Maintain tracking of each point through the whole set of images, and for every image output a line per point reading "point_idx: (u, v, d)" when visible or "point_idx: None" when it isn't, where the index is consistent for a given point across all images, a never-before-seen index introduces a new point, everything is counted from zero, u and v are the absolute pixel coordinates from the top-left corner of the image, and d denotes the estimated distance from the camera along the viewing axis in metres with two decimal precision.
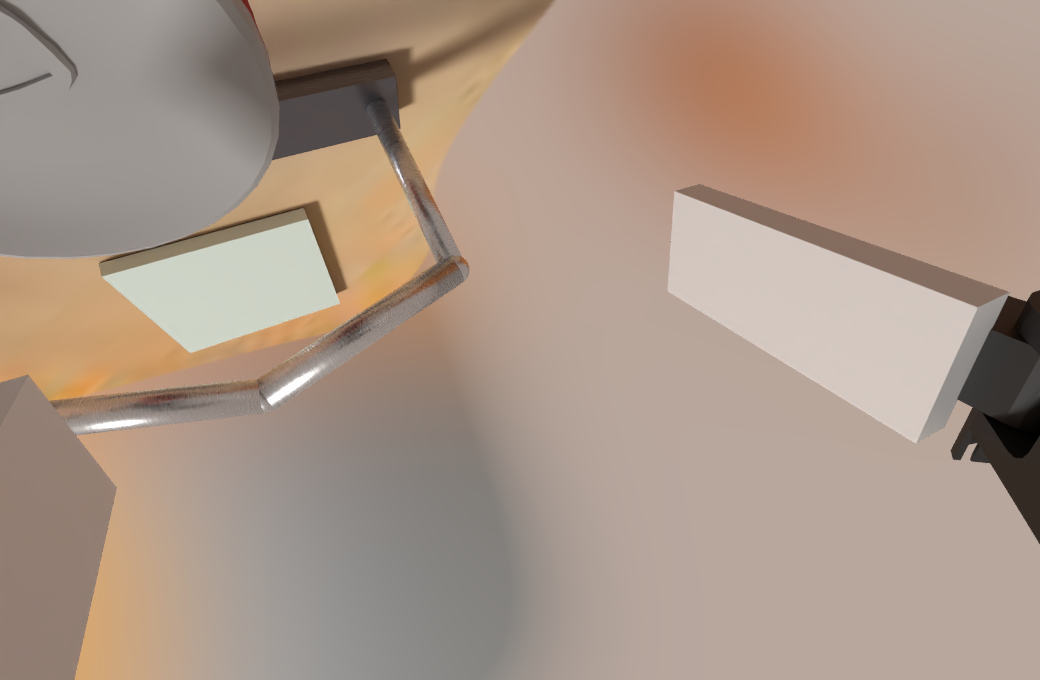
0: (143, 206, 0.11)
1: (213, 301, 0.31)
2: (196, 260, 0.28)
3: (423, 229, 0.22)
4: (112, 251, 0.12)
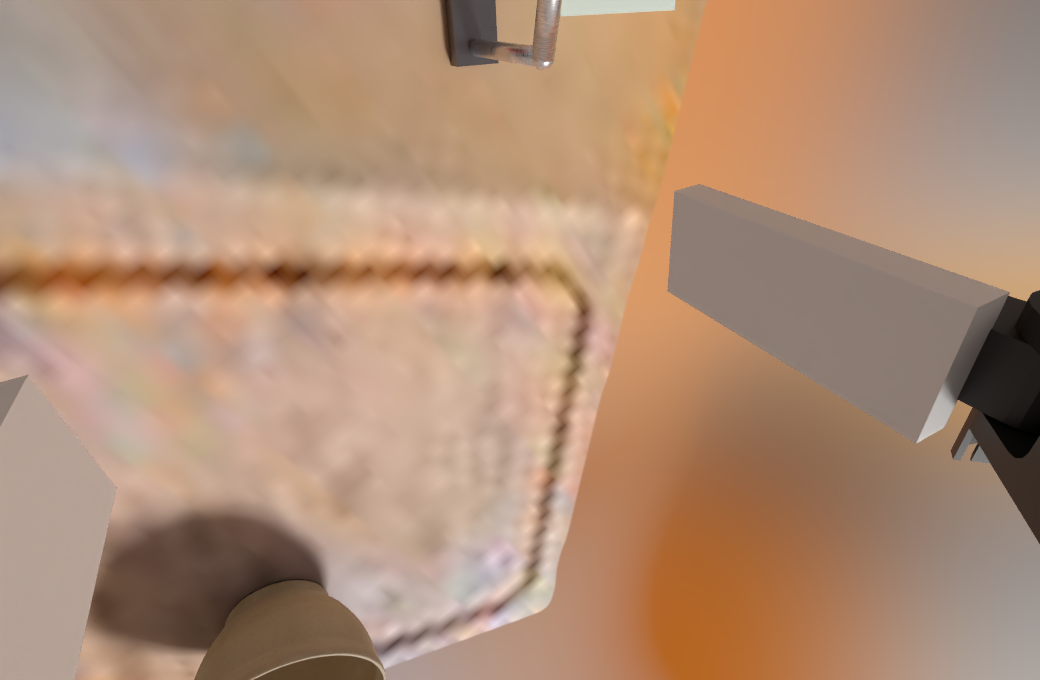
0: None
1: None
2: None
3: None
4: None
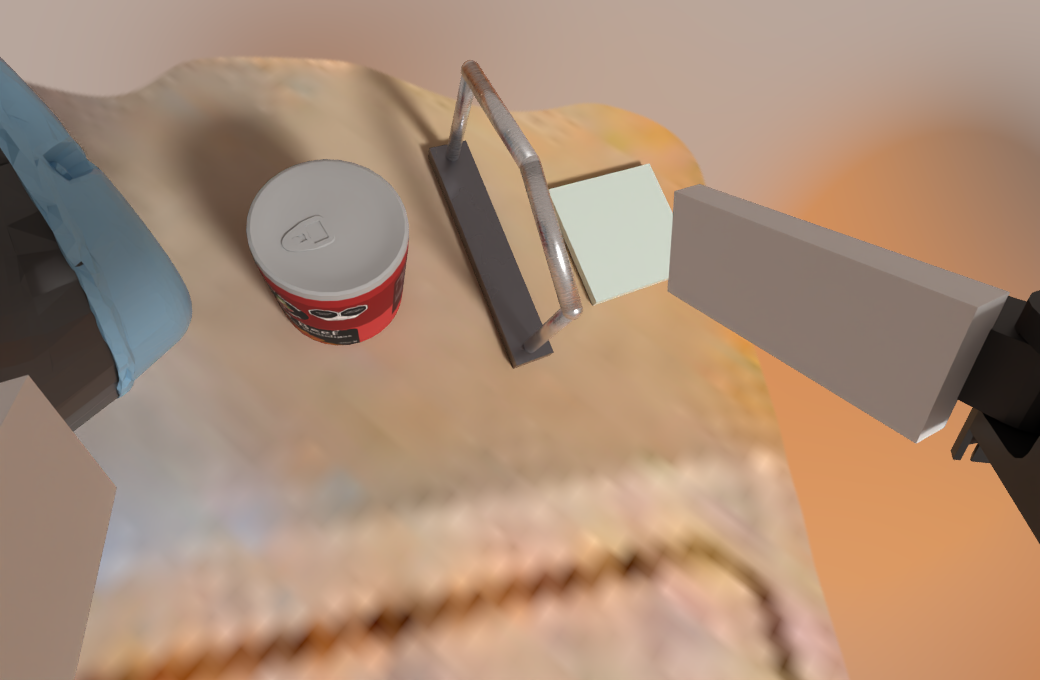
0: (382, 208, 0.28)
1: (632, 247, 0.43)
2: (585, 253, 0.42)
3: (466, 101, 0.34)
4: (404, 220, 0.28)
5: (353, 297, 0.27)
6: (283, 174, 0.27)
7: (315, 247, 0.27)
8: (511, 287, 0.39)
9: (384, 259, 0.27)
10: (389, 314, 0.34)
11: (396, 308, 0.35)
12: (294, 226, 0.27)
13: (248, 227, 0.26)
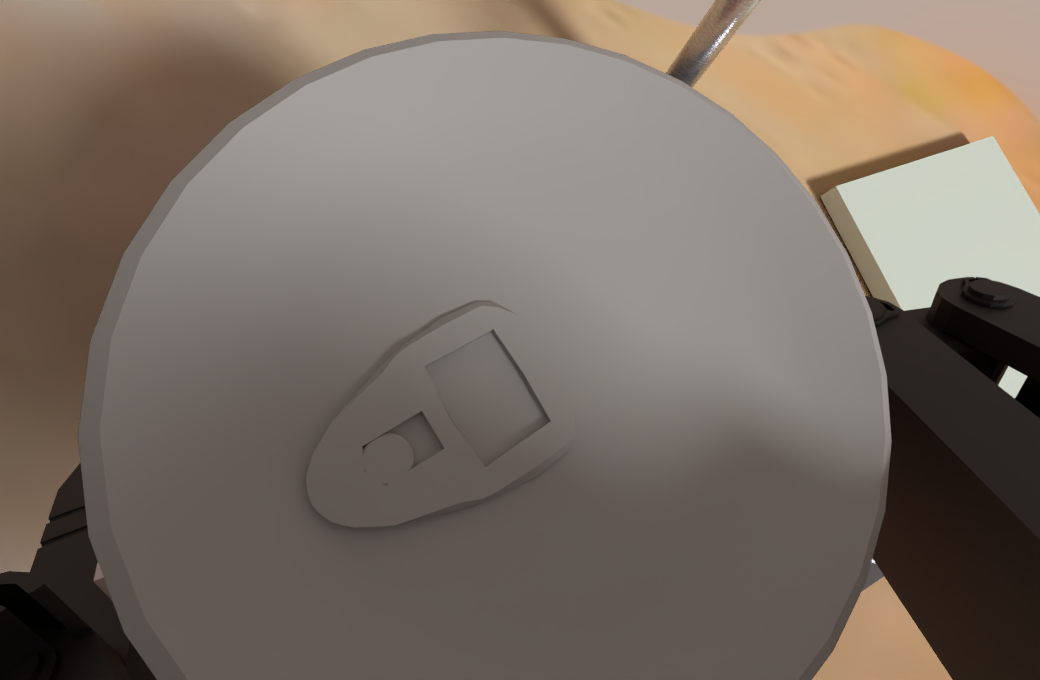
0: (753, 258, 0.06)
1: None
2: None
3: None
4: (862, 312, 0.06)
5: None
6: (310, 91, 0.05)
7: (488, 486, 0.05)
8: None
9: (819, 521, 0.05)
10: None
11: None
12: (374, 372, 0.05)
13: (95, 409, 0.04)
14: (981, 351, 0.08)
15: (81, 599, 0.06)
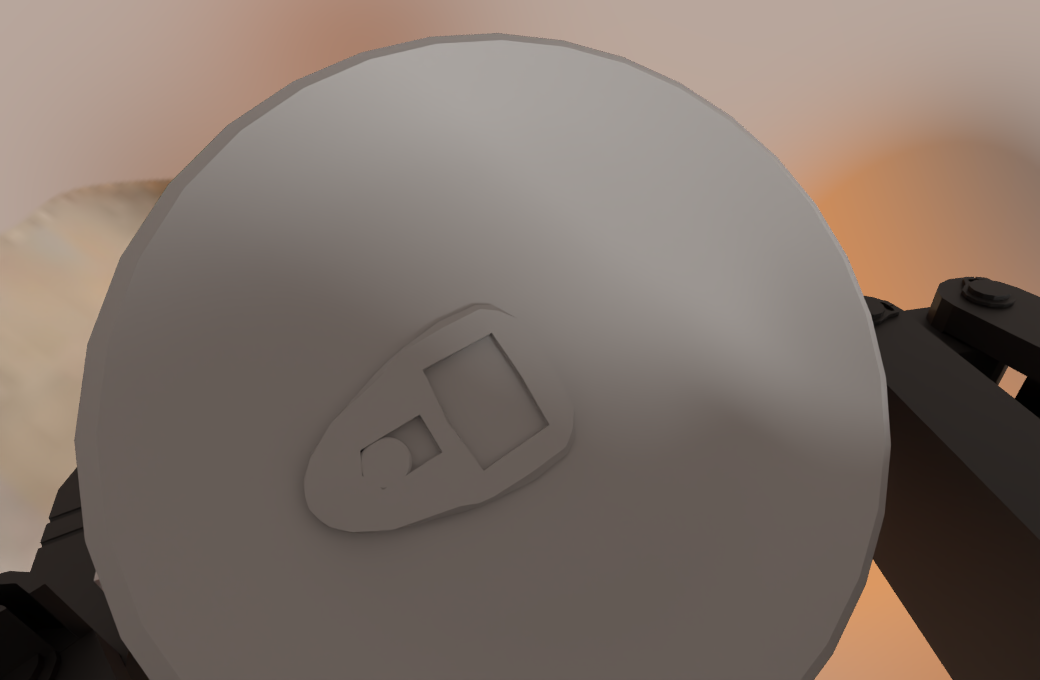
0: (751, 261, 0.06)
1: None
2: None
3: None
4: (861, 315, 0.06)
5: None
6: (309, 94, 0.05)
7: (486, 490, 0.05)
8: None
9: (818, 525, 0.05)
10: None
11: None
12: (373, 377, 0.05)
13: (91, 413, 0.04)
14: (981, 351, 0.08)
15: (81, 599, 0.06)
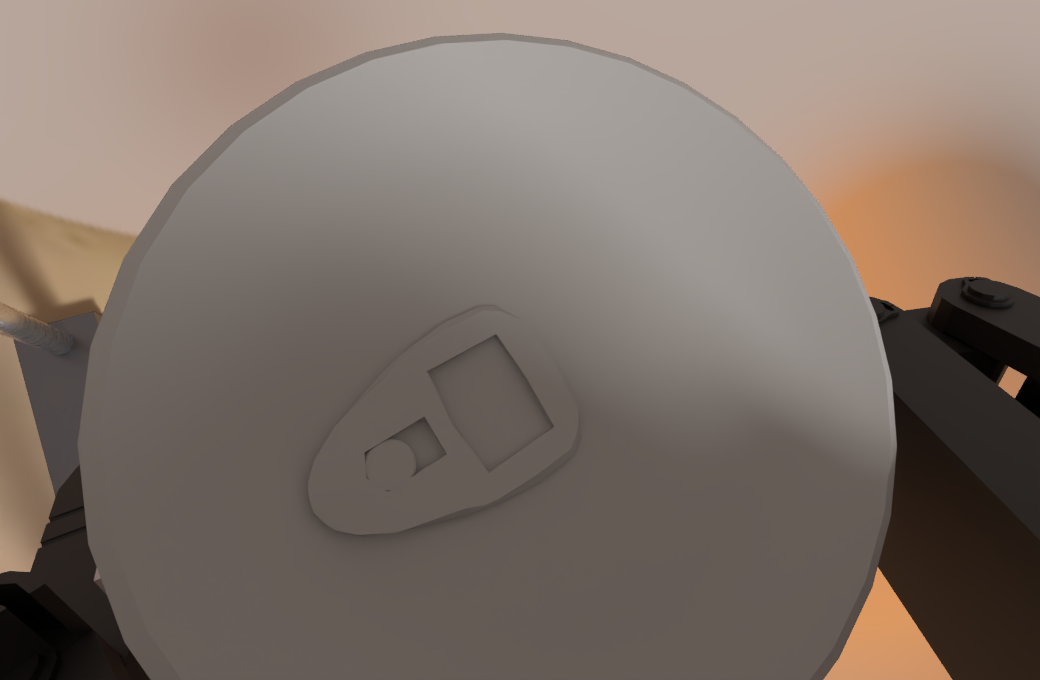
0: (757, 262, 0.06)
1: None
2: None
3: None
4: (867, 316, 0.06)
5: None
6: (312, 94, 0.05)
7: (490, 492, 0.05)
8: None
9: (824, 527, 0.05)
10: None
11: None
12: (376, 378, 0.05)
13: (94, 416, 0.04)
14: (981, 351, 0.08)
15: (81, 599, 0.06)
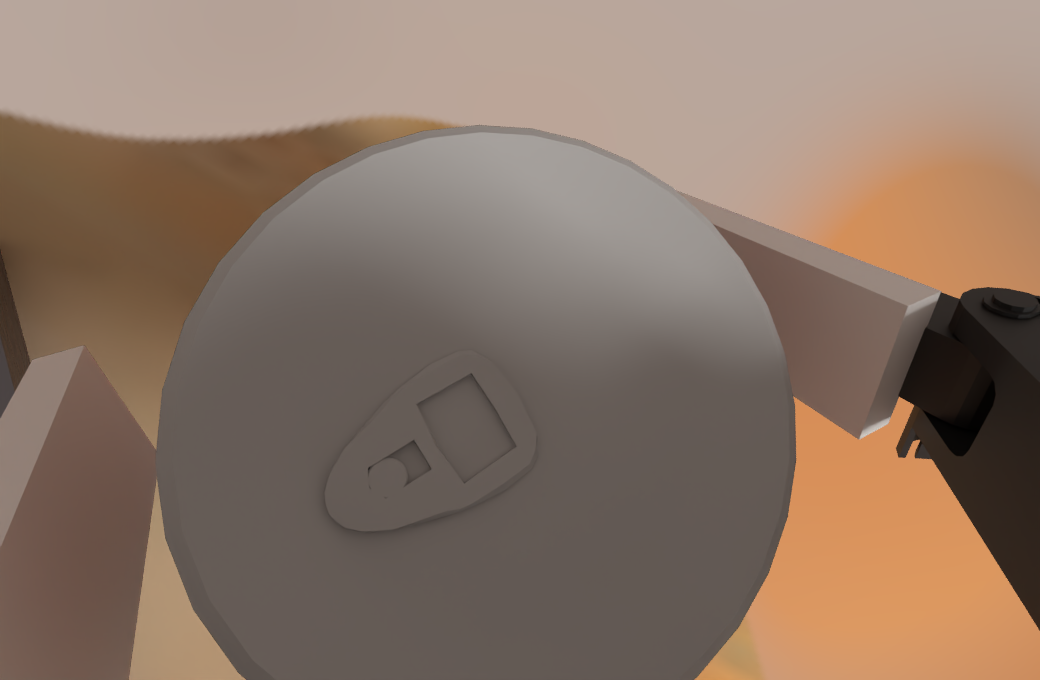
0: (688, 308, 0.08)
1: None
2: None
3: None
4: (775, 354, 0.07)
5: None
6: (326, 185, 0.06)
7: (466, 498, 0.06)
8: None
9: (732, 525, 0.07)
10: None
11: None
12: (378, 410, 0.06)
13: (168, 443, 0.05)
14: None
15: None
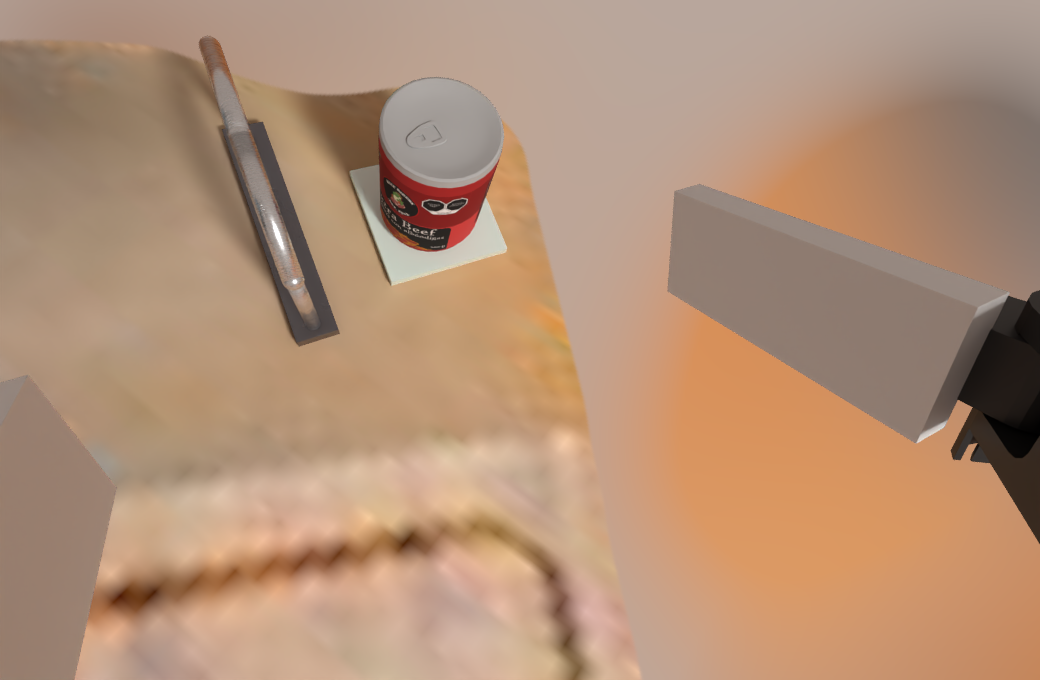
0: (482, 117, 0.34)
1: None
2: (383, 233, 0.42)
3: None
4: (500, 126, 0.34)
5: (463, 186, 0.33)
6: (405, 87, 0.33)
7: (432, 145, 0.33)
8: None
9: (486, 156, 0.33)
10: (473, 221, 0.40)
11: None
12: (415, 129, 0.33)
13: (381, 127, 0.32)
14: None
15: None
